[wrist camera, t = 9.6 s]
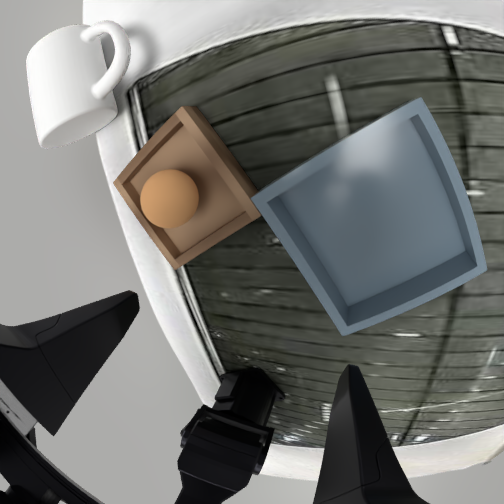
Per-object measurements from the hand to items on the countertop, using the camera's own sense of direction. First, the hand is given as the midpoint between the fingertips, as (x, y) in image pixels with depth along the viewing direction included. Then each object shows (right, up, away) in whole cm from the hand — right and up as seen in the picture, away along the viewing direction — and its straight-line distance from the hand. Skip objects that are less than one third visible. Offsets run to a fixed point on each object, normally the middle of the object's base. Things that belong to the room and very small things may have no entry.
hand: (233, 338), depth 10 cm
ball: (-6, +7, +10) cm, 13 cm away
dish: (+10, +6, +9) cm, 15 cm away
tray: (-5, +9, +13) cm, 16 cm away
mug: (-13, +21, +10) cm, 26 cm away
